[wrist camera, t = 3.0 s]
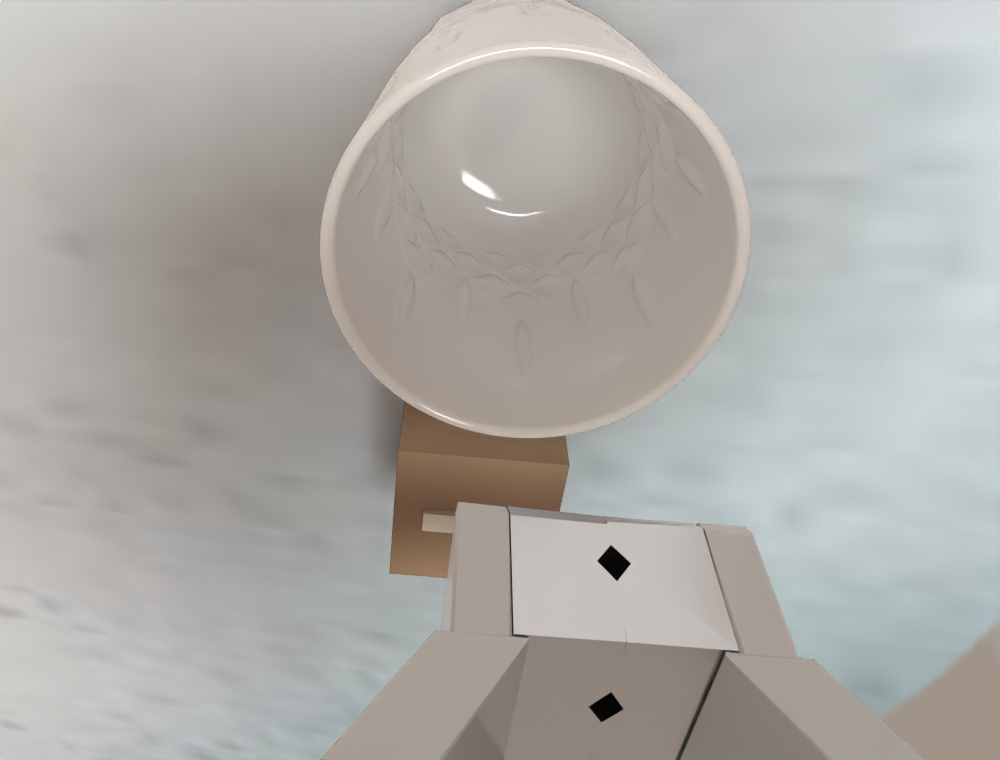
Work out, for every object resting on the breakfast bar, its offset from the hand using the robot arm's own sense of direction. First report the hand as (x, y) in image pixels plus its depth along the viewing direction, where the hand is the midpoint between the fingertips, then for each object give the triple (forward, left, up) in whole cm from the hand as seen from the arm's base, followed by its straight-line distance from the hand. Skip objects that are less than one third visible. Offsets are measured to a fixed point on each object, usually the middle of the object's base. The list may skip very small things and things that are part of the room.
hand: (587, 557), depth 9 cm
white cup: (0, 0, -18) cm, 18 cm away
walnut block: (-11, 0, -18) cm, 21 cm away
